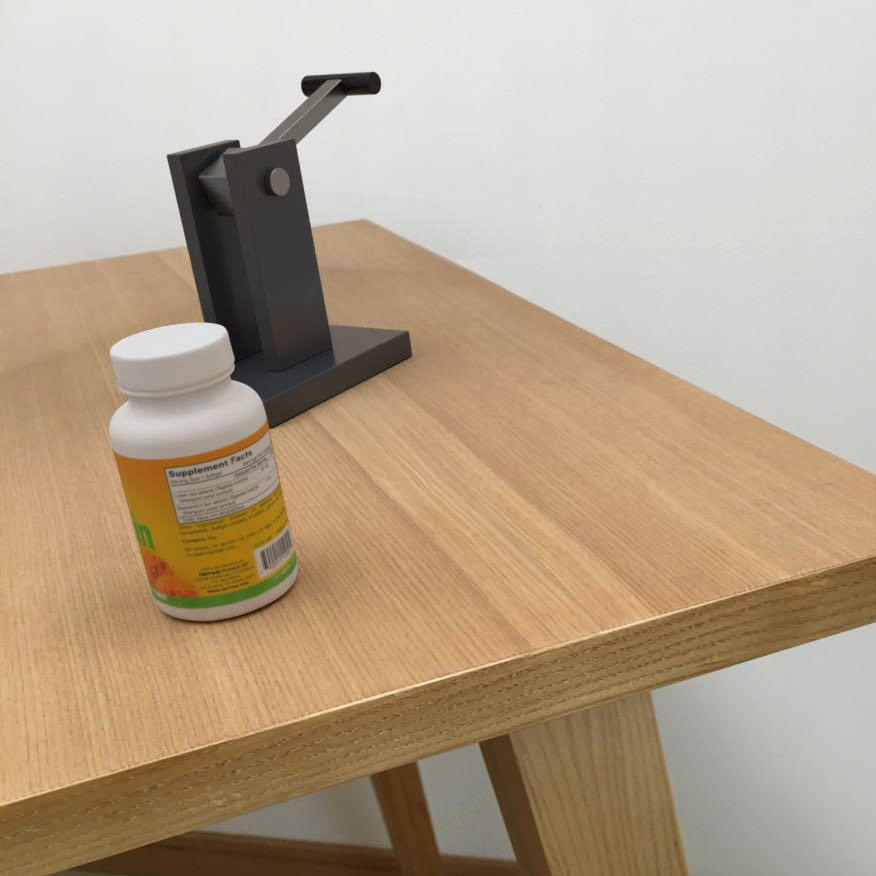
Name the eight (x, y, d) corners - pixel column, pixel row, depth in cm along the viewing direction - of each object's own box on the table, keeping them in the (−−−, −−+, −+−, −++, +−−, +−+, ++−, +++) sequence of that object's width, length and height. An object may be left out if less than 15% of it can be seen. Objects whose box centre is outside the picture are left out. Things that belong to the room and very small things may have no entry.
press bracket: (284, 343, 76) (241, 128, 70) (413, 355, 71) (378, 124, 65) (136, 409, 67) (74, 169, 61) (271, 428, 62) (217, 168, 56)
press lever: (321, 100, 72) (304, 61, 70) (388, 97, 69) (372, 57, 68) (199, 216, 65) (177, 176, 64) (267, 217, 63) (247, 176, 61)
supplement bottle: (149, 578, 48) (83, 335, 43) (286, 544, 49) (235, 307, 45) (162, 639, 43) (89, 375, 39) (313, 600, 44) (259, 342, 40)
